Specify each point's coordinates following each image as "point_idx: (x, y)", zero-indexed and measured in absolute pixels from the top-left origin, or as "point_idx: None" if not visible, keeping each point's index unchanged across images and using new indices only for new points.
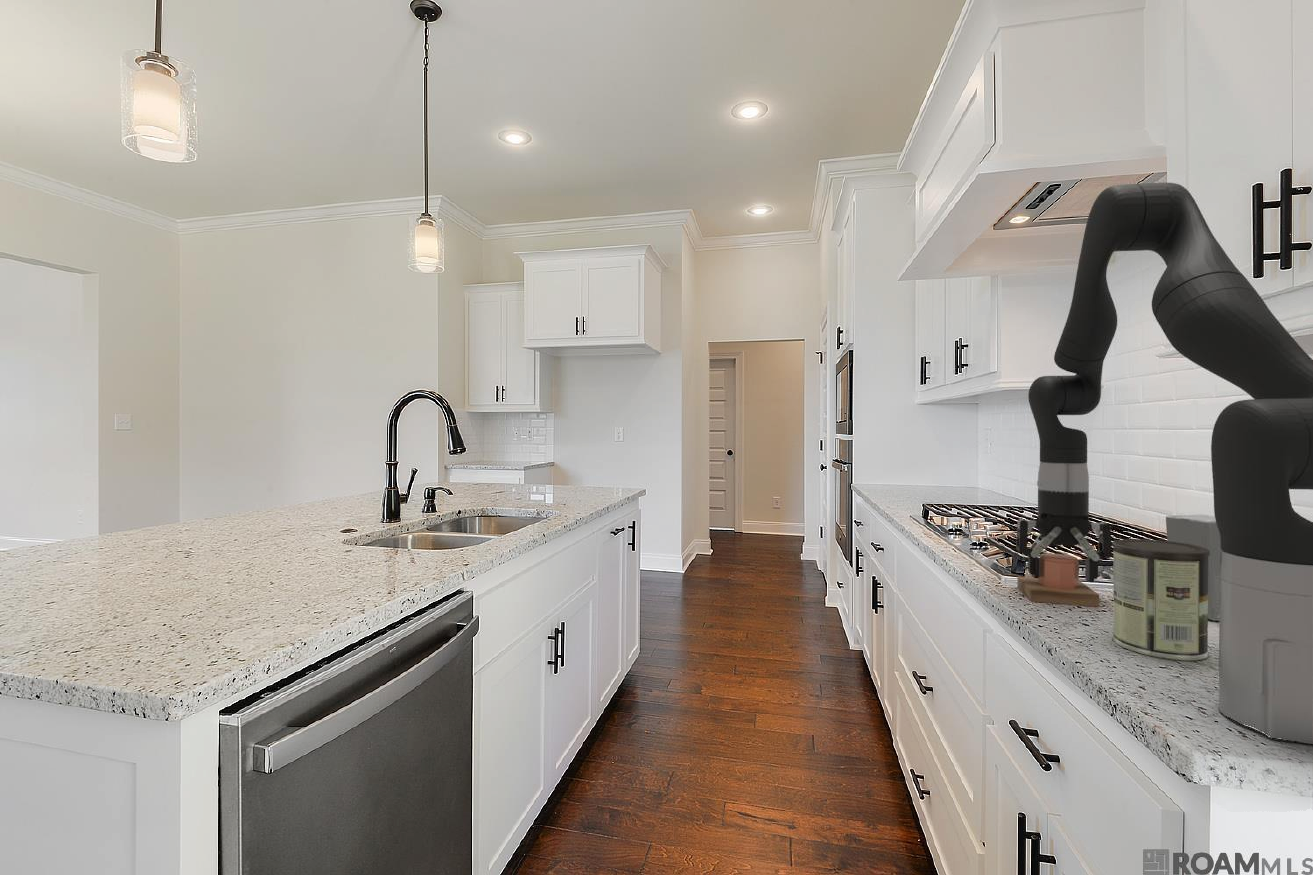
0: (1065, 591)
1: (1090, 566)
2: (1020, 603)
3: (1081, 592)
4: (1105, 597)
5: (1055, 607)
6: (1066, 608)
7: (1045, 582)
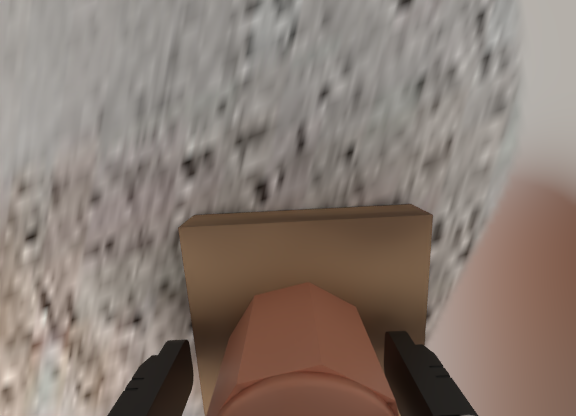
0: (297, 241)
1: (150, 397)
2: (456, 164)
3: (238, 246)
4: (151, 348)
5: (344, 152)
6: (309, 152)
7: (357, 313)
